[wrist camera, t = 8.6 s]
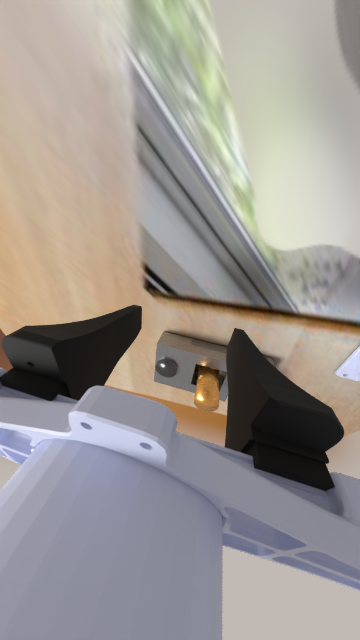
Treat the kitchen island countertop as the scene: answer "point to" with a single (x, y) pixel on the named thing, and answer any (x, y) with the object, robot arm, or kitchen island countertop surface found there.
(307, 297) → the kitchen island countertop surface
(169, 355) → the gray slab
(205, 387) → the pin
